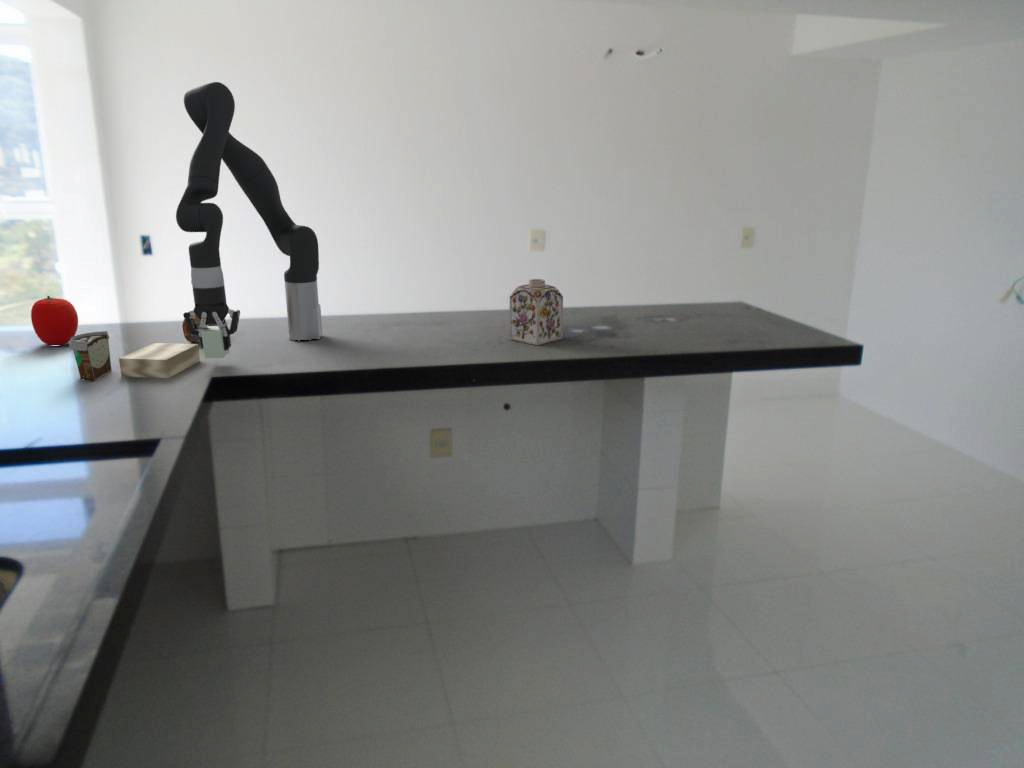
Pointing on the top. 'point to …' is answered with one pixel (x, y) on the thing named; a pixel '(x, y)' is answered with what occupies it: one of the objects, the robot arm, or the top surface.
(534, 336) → the decorative jar
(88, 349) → the food container
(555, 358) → the top surface
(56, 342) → the red apple
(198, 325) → the tin
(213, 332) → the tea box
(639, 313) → the top surface
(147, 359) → the maple block
